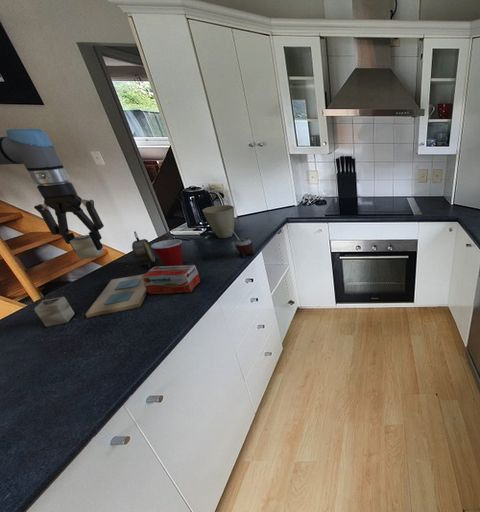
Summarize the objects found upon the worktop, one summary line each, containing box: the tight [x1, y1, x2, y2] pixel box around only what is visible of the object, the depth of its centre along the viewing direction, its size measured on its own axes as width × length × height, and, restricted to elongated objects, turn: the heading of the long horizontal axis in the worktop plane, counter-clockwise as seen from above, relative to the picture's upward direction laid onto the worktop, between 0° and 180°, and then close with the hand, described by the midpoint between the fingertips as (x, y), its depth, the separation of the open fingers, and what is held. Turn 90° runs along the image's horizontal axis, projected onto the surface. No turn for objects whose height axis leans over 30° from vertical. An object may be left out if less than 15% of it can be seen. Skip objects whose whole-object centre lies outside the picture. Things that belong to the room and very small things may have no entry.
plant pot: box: [201, 204, 235, 239], centre depth 150 cm, size 15×15×16 cm
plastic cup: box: [150, 239, 184, 266], centre depth 118 cm, size 11×11×12 cm
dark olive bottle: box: [131, 230, 156, 270], centre depth 118 cm, size 11×5×16 cm, turn 32°
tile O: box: [70, 234, 105, 261], centre depth 95 cm, size 5×5×7 cm
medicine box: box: [141, 264, 201, 295], centre depth 104 cm, size 15×8×8 cm, turn 98°
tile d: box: [33, 296, 75, 328], centre depth 87 cm, size 5×5×7 cm
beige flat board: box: [85, 273, 148, 319], centre depth 102 cm, size 14×24×2 cm, turn 26°
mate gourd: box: [227, 229, 254, 259], centre depth 129 cm, size 8×8×15 cm
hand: (89, 249), depth 96 cm, fingers closed on tile O, 5 cm apart
